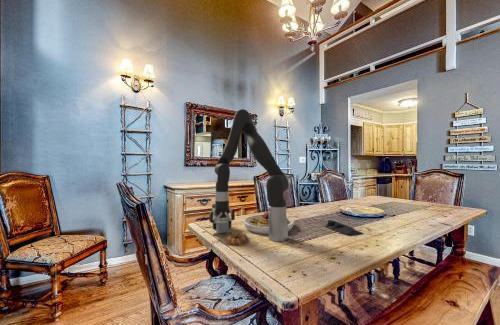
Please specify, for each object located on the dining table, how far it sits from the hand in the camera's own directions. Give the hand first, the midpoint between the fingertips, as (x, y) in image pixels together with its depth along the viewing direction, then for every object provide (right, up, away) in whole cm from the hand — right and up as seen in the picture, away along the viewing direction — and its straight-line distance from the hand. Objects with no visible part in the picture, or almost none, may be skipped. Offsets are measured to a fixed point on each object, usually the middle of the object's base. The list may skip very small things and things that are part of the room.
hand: (222, 228), depth 126 cm
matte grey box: (0, -1, 0) cm, 1 cm away
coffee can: (-3, -3, +14) cm, 14 cm away
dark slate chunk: (+70, -4, +6) cm, 70 cm away
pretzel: (+9, -4, -11) cm, 15 cm away
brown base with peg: (0, -3, 0) cm, 3 cm away
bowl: (+27, -4, +12) cm, 30 cm away
